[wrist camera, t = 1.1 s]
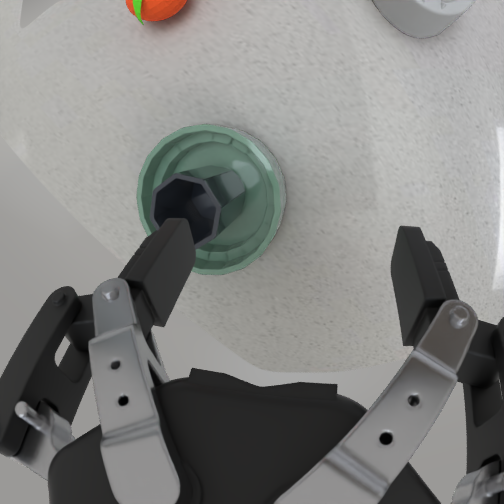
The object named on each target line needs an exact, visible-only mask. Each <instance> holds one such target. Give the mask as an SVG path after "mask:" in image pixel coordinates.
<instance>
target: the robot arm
mask: <svg viewBox="0 0 504 504" xmlns="http://www.w3.org/2000/svg"><path fill="white" fill-rule="evenodd" d="M195 260H196V250H195V246H194V242H193V238H192V234H191V230H190V226H189V222H188V220H187V219H185V218H168V219H166V220H165V222H164V223H163V224H162V226H161V227H160V228H159V230H156V231H154V232H153V233H152V234H150V235H149V236H148V237H146V238H145V240H144V241H143V243H142V244H141V245H140V248H138V249H137V251H136V252H135V255H133V256H132V258H131V259H130V261H129V262H128V263H127V265H126V266H125V268H124V269H123V271H122V272H121V273H120V275H119V276H118V278H113V279H109V280H107V281H105V282H103V283H102V284H100V285H99V286H98V287H97V288H96V290H95V291H94V293H93V294H90V295H84V296H78V295H77V294H76V292H75V290H74V289H73V288H72V287H69V286H66V287H61V288H59V289H57V290H55V291H54V292H53V293H52V294H51V295H50V296H49V297H48V299H47V300H46V302H45V303H44V305H43V306H42V308H41V310H40V311H39V312H38V314H37V315H36V317H35V319H34V320H33V322H32V323H31V325H30V327H29V328H28V330H27V331H26V333H25V335H24V336H23V338H22V340H21V342H20V343H19V345H18V347H17V348H16V350H15V352H14V354H13V355H12V357H11V359H10V361H9V363H8V365H7V366H6V369H5V370H4V372H3V374H2V376H1V378H0V453H1V454H3V455H4V456H6V457H8V458H10V459H12V460H14V461H16V462H17V463H19V464H21V465H24V466H26V467H27V468H29V469H30V470H32V471H33V472H35V473H36V474H38V475H39V476H41V477H42V478H44V479H45V480H47V481H48V489H49V501H50V504H441V503H440V501H439V500H438V499H437V498H436V496H435V495H434V494H433V493H432V491H431V490H430V489H429V488H428V486H427V485H426V484H425V482H424V481H423V480H422V478H421V477H420V476H419V475H418V473H417V472H416V471H415V469H414V468H413V467H412V466H411V464H410V463H409V462H408V461H409V460H410V458H411V457H412V456H413V454H414V453H415V451H416V450H417V448H418V447H419V445H420V444H421V443H422V441H423V440H424V438H425V437H426V435H427V433H428V432H429V430H430V428H431V427H432V425H433V424H434V422H435V421H436V419H437V417H438V416H439V414H440V412H441V411H442V409H443V407H444V405H445V404H446V402H447V400H448V398H449V396H450V394H451V392H452V390H453V389H454V387H455V385H456V383H457V382H461V383H463V389H464V400H465V412H466V430H467V472H466V476H464V477H463V478H462V479H461V480H460V482H459V483H458V485H457V487H456V489H455V492H454V494H453V497H452V503H451V504H504V317H503V318H502V319H501V320H500V322H499V323H498V325H494V324H490V323H487V322H484V321H480V320H478V317H477V315H476V313H475V311H474V310H473V309H472V307H471V306H469V305H468V304H467V303H465V302H463V301H460V300H459V298H458V295H457V292H456V289H455V287H454V284H453V281H452V279H451V276H450V273H449V271H448V268H447V266H446V263H444V259H443V256H442V254H441V251H440V250H439V249H438V248H437V247H436V246H435V245H434V244H433V243H432V241H426V240H425V238H424V236H423V233H422V231H421V229H420V227H412V226H400V227H399V230H398V234H397V238H396V243H395V247H394V251H393V255H392V260H391V277H392V282H393V287H394V292H395V297H396V303H397V308H398V314H399V320H400V327H401V334H402V341H403V346H413V348H414V349H413V351H412V352H411V354H410V355H409V357H408V358H407V359H406V361H405V362H404V364H403V365H402V367H401V368H400V369H399V371H398V372H397V374H396V375H395V376H394V378H393V379H392V380H391V382H390V383H389V384H388V386H387V387H386V388H385V390H384V391H383V392H382V394H381V395H380V396H379V397H378V399H377V400H376V401H375V402H374V404H373V405H372V406H371V407H370V408H369V410H367V409H366V408H364V407H363V406H362V405H360V404H359V403H357V402H355V401H354V400H352V399H350V398H347V397H345V396H342V395H339V394H337V384H322V383H305V382H298V383H291V384H283V385H276V386H267V387H259V386H256V385H253V384H250V383H248V382H245V381H243V380H240V379H238V378H235V377H233V376H230V375H227V374H225V373H219V372H213V371H207V370H201V369H195V368H192V369H191V372H190V375H189V377H187V378H180V379H175V380H171V381H170V380H169V378H168V376H167V373H166V371H165V368H164V365H163V362H162V359H161V356H160V353H159V350H158V347H157V343H156V340H155V337H154V334H153V332H152V330H151V328H152V326H153V325H155V326H160V327H164V326H165V324H166V322H167V320H168V318H169V315H170V314H171V312H172V310H173V307H174V305H175V303H176V301H177V299H178V297H179V295H180V293H181V291H182V289H183V287H184V285H185V283H186V281H187V279H188V277H189V275H190V273H191V271H192V269H193V267H194V264H195ZM64 336H66V338H67V339H68V340H69V341H70V345H69V347H68V349H67V351H66V353H65V355H64V357H63V359H62V361H61V362H60V364H59V366H58V367H57V365H56V363H55V353H56V351H57V349H58V347H59V345H60V344H61V342H62V340H63V338H64ZM91 376H92V379H93V386H94V392H95V397H96V404H97V409H98V414H99V419H100V424H99V425H98V426H97V427H95V428H93V429H92V430H90V431H88V432H87V433H85V434H84V435H82V436H80V437H79V438H77V439H76V440H75V438H74V436H73V435H72V430H71V424H72V422H73V419H74V416H75V414H76V412H77V409H78V407H79V404H80V402H81V399H82V397H83V395H84V393H85V390H86V388H87V385H88V383H89V381H90V379H91ZM499 379H500V383H499ZM500 385H501V388H500ZM501 391H502V395H501Z"/></svg>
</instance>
